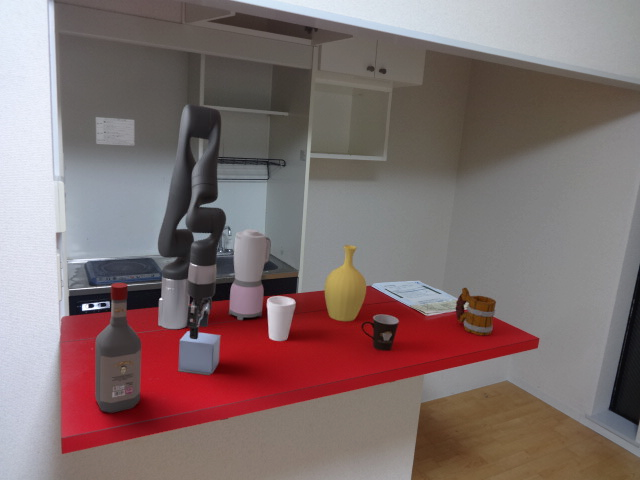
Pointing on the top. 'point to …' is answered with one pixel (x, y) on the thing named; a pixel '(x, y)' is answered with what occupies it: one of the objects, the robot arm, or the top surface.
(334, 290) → the vase
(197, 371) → the tape square
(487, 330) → the mug
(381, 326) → the coffee mug
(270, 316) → the foam cup
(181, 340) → the periwinkle rectangular block
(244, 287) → the blender
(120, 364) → the liquor
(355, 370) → the top surface
